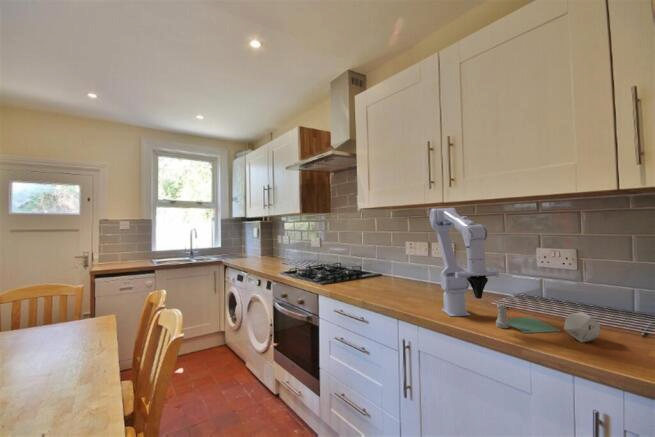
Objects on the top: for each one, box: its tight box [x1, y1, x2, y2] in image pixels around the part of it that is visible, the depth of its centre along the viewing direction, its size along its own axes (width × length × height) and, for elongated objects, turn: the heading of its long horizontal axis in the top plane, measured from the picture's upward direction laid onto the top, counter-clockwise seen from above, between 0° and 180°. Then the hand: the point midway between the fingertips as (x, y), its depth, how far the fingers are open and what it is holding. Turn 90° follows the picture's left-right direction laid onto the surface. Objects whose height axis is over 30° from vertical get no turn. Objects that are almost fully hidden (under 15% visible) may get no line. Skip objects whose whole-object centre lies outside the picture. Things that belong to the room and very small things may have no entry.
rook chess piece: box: [495, 302, 511, 329], centre depth 106 cm, size 4×4×8 cm
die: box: [563, 311, 601, 343], centre depth 92 cm, size 8×9×10 cm
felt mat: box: [507, 317, 562, 334], centre depth 106 cm, size 14×12×1 cm
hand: (478, 297), depth 106 cm, fingers closed
